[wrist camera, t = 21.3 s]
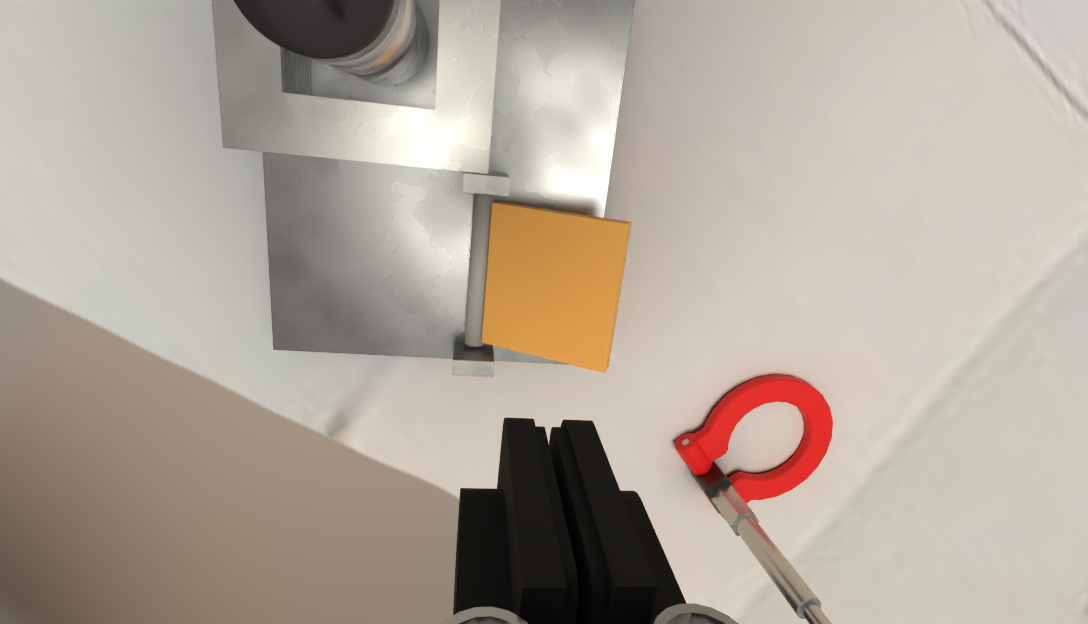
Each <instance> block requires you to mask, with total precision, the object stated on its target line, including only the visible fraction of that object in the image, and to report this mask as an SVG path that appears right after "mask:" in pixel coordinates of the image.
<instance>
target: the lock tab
mask: <svg viewBox="0 0 1088 624" xmlns="http://www.w3.org/2000/svg"><path fill="white" fill-rule="evenodd" d="M630 227H631V222H627V221H621V220H615V219H608V218H602V217H596V216H589V215H583V214H577V213H570V212H564V211H558V210H551V209H545V208H539V207H532V206H526V205H520V204H513V203H507V202H501V201H498V202H495V195H490V194H479V193H474V202H473V218H472V233H471V248H470V264H469V279H468V294H467V310H466V325H465V341H464V343H465V344H466V345H468V346H471V347H479V346H482V345H484V343H485V344H489V345H493V346H497V347H501V348H505V349H510V350H514V351H518V352H522V353H526V354H530V355H534V356H538V357H542V358H546V359H550V360H554V361H558V362H563V363H567V364H571V365H575V366H579V367H583V368H587V369H591V370H595V371H599V372H603V373H605V371H606V370H607V368H608V367H609V360H610V354H611V348H612V341H613V335H614V329H615V322H616V316H617V310H618V303H619V297H620V291H621V284H622V278H623V272H624V265H625V259H626V253H627V246H628V240H629V234H630Z"/></svg>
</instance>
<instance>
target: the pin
mask: <svg viewBox="0 0 1088 624" xmlns="http://www.w3.org/2000/svg"><path fill="white" fill-rule="evenodd" d="M234 2H235V4H236V5H237V7H238V8H239V10H240V12H241V13H242V14H243V15H244V17H245V18H246V19H247V20H248V22H249V23H250V24H251V25H252V26H253V27H254V28H255V29H256V30H257V31H258V32H260V33H261V34H262V35H263V36H265V37H266V38H267V39H269V40H270V41H272V42H273V43H275V44H277V45H278V46H280V47H283V48H285V49H287V50H289V51H292V52H294V53H297V54H299V55H302V56H304V57H307V58H309V59H312V60H315V61H317V62H320V63H322V64H325V65H327V66H330V67H333V68H335V69H338V70H340V71H343V72H345V73H348V74H351V75H353V76H356V77H358V78H361V79H363V80H366V81H368V82H371V83H374V84H379V85H394V84H399V83H401V82H404V81H406V80H408V79H410V78H411V77H412V76H413V75H415V74H416V73H417V71H418V70H419V69H420V68H421V66H422V65H423V63H424V61H425V58H426V56H427V52H428V48H429V32H428V26H427V22H426V20H425V17H424V15H423V13H422V11H421V8H420V6H419V4H418V2H417V0H234Z"/></svg>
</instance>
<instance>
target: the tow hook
mask: <svg viewBox="0 0 1088 624" xmlns="http://www.w3.org/2000/svg"><path fill="white" fill-rule="evenodd" d="M776 401H777V402H788V403H790V404H793V405H796V406H797V407H798V408H799V410H800V412H801V413H802V415H803V419H804V423H805V426H804V436H803V439H802V442H801V444H800V446H799V448H798V449H797V451H796V453H795V454H794V455H793V456H792V457H791V458H790V459H789V460H788V461H787V462H786V463H784V464H783V465H782V466H780V467H779V468H777V469H774V470H772V471H770V472H767V473H762V474H747V473H744V472H736V473H735V474H733V475H732V476H730V477H729V478H727V476H726V475H725V474H724V473H723V471H722V470H721V469H720V468H719V466H718V465H717V464H716V463H715V462H714V461H715V460H716V459H718V458H719V457H721V456H722V455H724V454H725V453H726V452H727V450H728V443H729V439H730V436H731V433H732V431H733V430H734V428H735V426H736V424H737V423H738V422H739V421H740V420H741V419H742V418H743V417H744V415H746V414H747V413H748V412H750V411H751V410H753V409H754V408H756V407H758V406H761V405H763V404H765V403H771V402H776ZM832 426H833V420H832V416H831V411H830V407H829V405H828V404H827V402H826V400H825V399H824V397H823V395H822V394H821V393H819V392H818V391H817V390H816V389H815V388H813V387H812V386H811V385H810V384H808V383H807V382H805V381H803V380H800V379H798V378H795V377H793V376H788V375H776V374H774V375H768V376H763V377H757V378H755V379H753V380H750V381H748V382H746V383H743V384H741V385H739V386H738V387H737V388H735V389H734V390H733V391H731V392H730V393H728V394H727V395H726V396H725V397H724V398H723V399H722V400H721V401H720V402H719V404H718V405H717V406H716V407H715V408H714V409H713V411H712V413H711V414H710V416H709V418H708V420H707V422H706V424H705V426H704V427H703V428H702V429H700V430H699V431H697V432H696V433H694V434H692V433H686V434H683V435H681V436H680V437H679V438H678V439H677V440H676V442H675V447H676V449H677V451H678V452H679V454H680V455H681V457H682V458H683V459H684V461H685V462H686V464H687V465H688V467H689V468H690V470H691V474H692V475H693V477H694V478H695V480H696V481H697V483H698V484H699V486H700V487H701V489H702V490H703V492H704V493H705V495H706V496H707V497H708V499H709V500H710V502H711V503H712V504H713V506H714V507H715V509H716V510H717V511H718V513H719V514H721V516H722V517H723V518H724V519H725V520H726V521H727V523H728V524H729V526H730V527H731V528H732V530H733V531H734V533H735V534H736V535H737V536H741V538H742V539H743V541H744V542H745V543H746V545H747V546H748V548H749V549H750V550H751V552H752V553H753V554H754V556H755V557H756V559H757V560H758V561H759V563H760V564H761V565H762V567H763V568H764V570H765V571H766V572H767V574H768V575H769V577H770V578H771V579H772V581H773V582H774V583H775V585H776V586H777V588H778V589H779V590H780V592H781V593H782V594H783V596H784V597H785V599H786V600H787V601H788V603H789V604H790V606H791V607H792V608H793V610H794V611H795V612H796V614H797V615H798V616H799V617H800V618H802V619H806V620H807V621H808V622H809V624H831V622H830V621H829V620H828V618H827V617H826V616H825V615H824V613H823V612H822V611H821V609H820V608H821V603H820V601H819V599H818V598H817V597H816V596H815V594H814V593H813V592H812V591H811V589H810V588H809V587H808V586H807V584H806V583H805V582H804V581H803V579H802V578H801V577H800V576H799V574H798V573H797V572H796V571H795V569H794V568H793V567H792V565H791V564H790V563H789V562H788V560H787V559H786V558H785V557H784V555H783V554H782V553H781V552H780V550H779V549H778V548H777V547H776V545H775V544H774V543H773V542H772V540H771V539H770V538H769V537H768V535H767V534H766V533H765V531H764V530H763V529H762V528H761V526H760V525H759V524H758V523H759V521H758V519H757V518H756V516H755V514H754V513H753V512H752V510H751V509H750V508H749V507H748V505H747V504H746V503H748V502H749V501H751V500H762V499H767V498H772V497H776V496H778V495H781V494H783V493H785V492H788V491H790V490H792V489H793V488H795V487H796V486H797V485H799V484H800V483H802V482H803V481H805V480H806V479H807V478H808V477H809V476H810V475H811V474H812V472H813V471H814V470H815V469H816V468H817V467H818V466H819V464H820V462H821V461H822V459H823V457H824V456H825V454H826V452H827V450H828V447H829V444H830V441H831V438H832Z"/></svg>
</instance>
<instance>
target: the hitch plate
mask: <svg viewBox="0 0 1088 624" xmlns="http://www.w3.org/2000/svg"><path fill="white" fill-rule="evenodd" d="M417 2H418V4H419V6H420V8H421V11H422V13H423V15H424V17H425V20H426V22H427V26H428V32H429V48H428V52H427V56H426V58H425V61H424V63H423V65H422V66H421V68H420V69H419V70H418V71H417V73H416V74H415V75H413V76H412V77H411V78H410V79H408V80H406V81H404V82H401V83H399V84H394V85H379V84H374V83H371V82H368V81H366V80H363V79H361V78H358V77H356V76H353V75H351V74H348V73H345V72H343V71H340V70H338V69H335V68H333V67H330V66H327V65H325V64H322V63H320V62H317V61H315V60H312V59H309V58H307V57H304V56H302V55H299V54H297V53H294V52H292V51H289V50H287V49H285V48H283V47H280V46H278V45H277V44H275V43H273V42H272V41H270V40H269V39H267V38H266V37H265V36H263V35H262V34H261V33H260V32H258V31H257V30H256V29H255V28H254V27H253V26H252V25H251V24H250V23H249V22H248V20H247V19H246V18H245V17H244V15H243V14H242V13H241V12H240V10H239V8H238V7H237V5H236V4H235V2H234V0H212V8H213V21H214V34H215V47H216V60H217V73H218V86H219V99H220V112H221V125H222V138H223V148H232V149H242V150H252V151H262V152H263V166H264V184H265V202H266V221H267V239H268V257H269V275H270V293H271V312H272V330H273V348H274V350H290V351H310V352H330V353H350V354H370V355H390V356H410V357H431V358H451V359H453V367H452V375H464V376H486V377H493V372H494V361H511V362H531V363H551V364H567V363H563V362H558V361H554V360H550V359H546V358H542V357H538V356H534V355H530V354H526V353H522V352H518V351H514V350H510V349H505V348H501V347H497V346H493V345H489V344H485V343H484V345H482V346H479V347H471V346H468V345H466V344H465V343H464V341H465V325H466V310H467V294H468V279H469V264H470V248H471V233H472V218H473V202H474V193H479V194H490V195H495V202H498V201H501V202H507V203H513V204H520V205H526V206H532V207H539V208H545V209H551V210H558V211H564V212H570V213H577V214H583V215H589V216H596V217H602V218H604V212H605V205H606V198H607V191H608V184H609V177H610V169H611V162H612V155H613V148H614V141H615V134H616V127H617V120H618V113H619V106H620V99H621V92H622V85H623V78H624V70H625V63H626V56H627V49H628V42H629V35H630V28H631V21H632V14H633V7H634V0H417Z"/></svg>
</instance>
